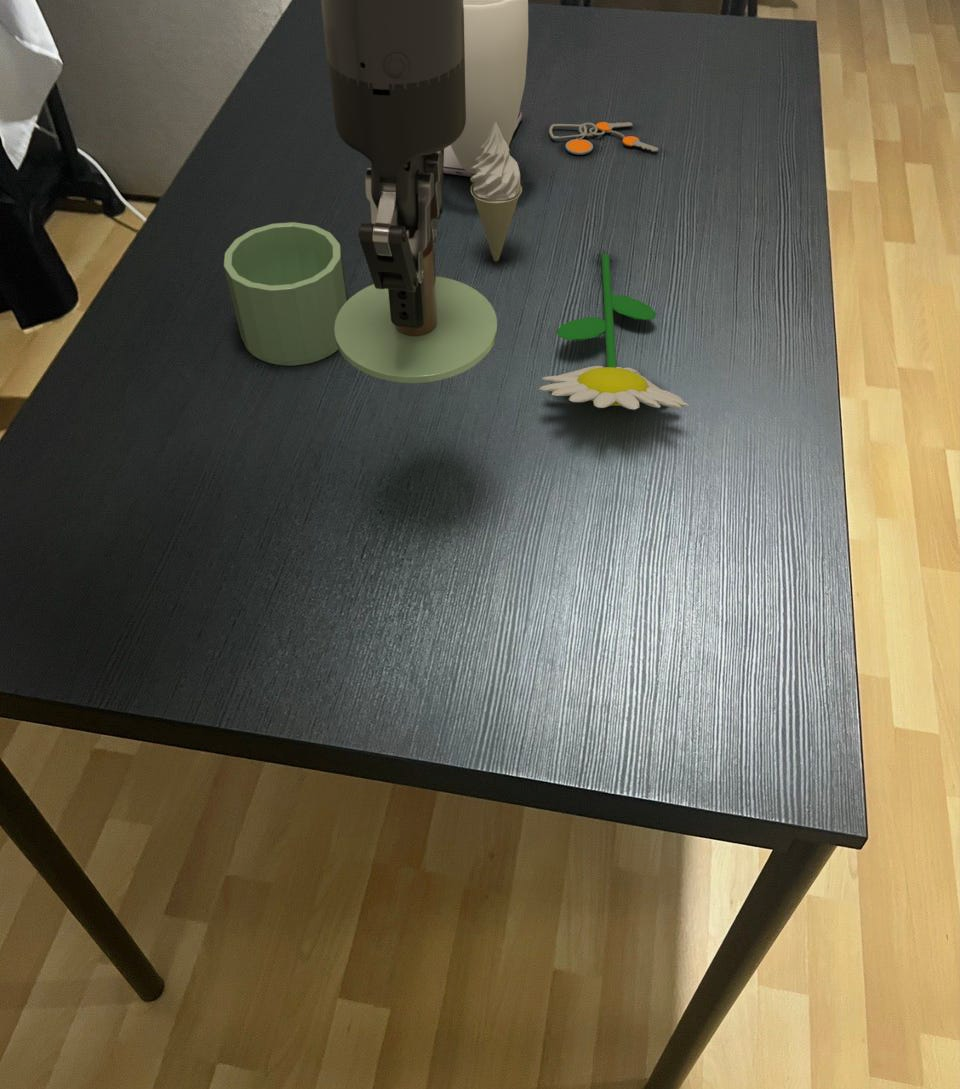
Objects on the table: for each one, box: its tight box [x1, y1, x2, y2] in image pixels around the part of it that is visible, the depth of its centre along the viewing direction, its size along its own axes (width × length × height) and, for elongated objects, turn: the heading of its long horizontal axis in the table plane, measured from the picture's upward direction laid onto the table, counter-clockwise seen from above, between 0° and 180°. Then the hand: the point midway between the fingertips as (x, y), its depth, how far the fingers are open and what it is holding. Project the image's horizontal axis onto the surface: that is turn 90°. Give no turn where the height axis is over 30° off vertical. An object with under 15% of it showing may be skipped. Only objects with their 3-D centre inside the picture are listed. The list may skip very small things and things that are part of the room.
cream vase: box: [451, 0, 529, 173], centre depth 104 cm, size 10×10×22 cm
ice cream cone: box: [469, 120, 523, 262], centre depth 98 cm, size 5×5×15 cm
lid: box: [334, 240, 498, 384], centre depth 67 cm, size 11×11×7 cm
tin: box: [223, 221, 349, 367], centre depth 93 cm, size 10×10×8 cm
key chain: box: [548, 121, 660, 155], centre depth 118 cm, size 13×7×1 cm, turn 88°
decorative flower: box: [538, 253, 689, 411], centre depth 92 cm, size 13×5×30 cm
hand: (414, 306), depth 67 cm, fingers closed on lid, 3 cm apart
